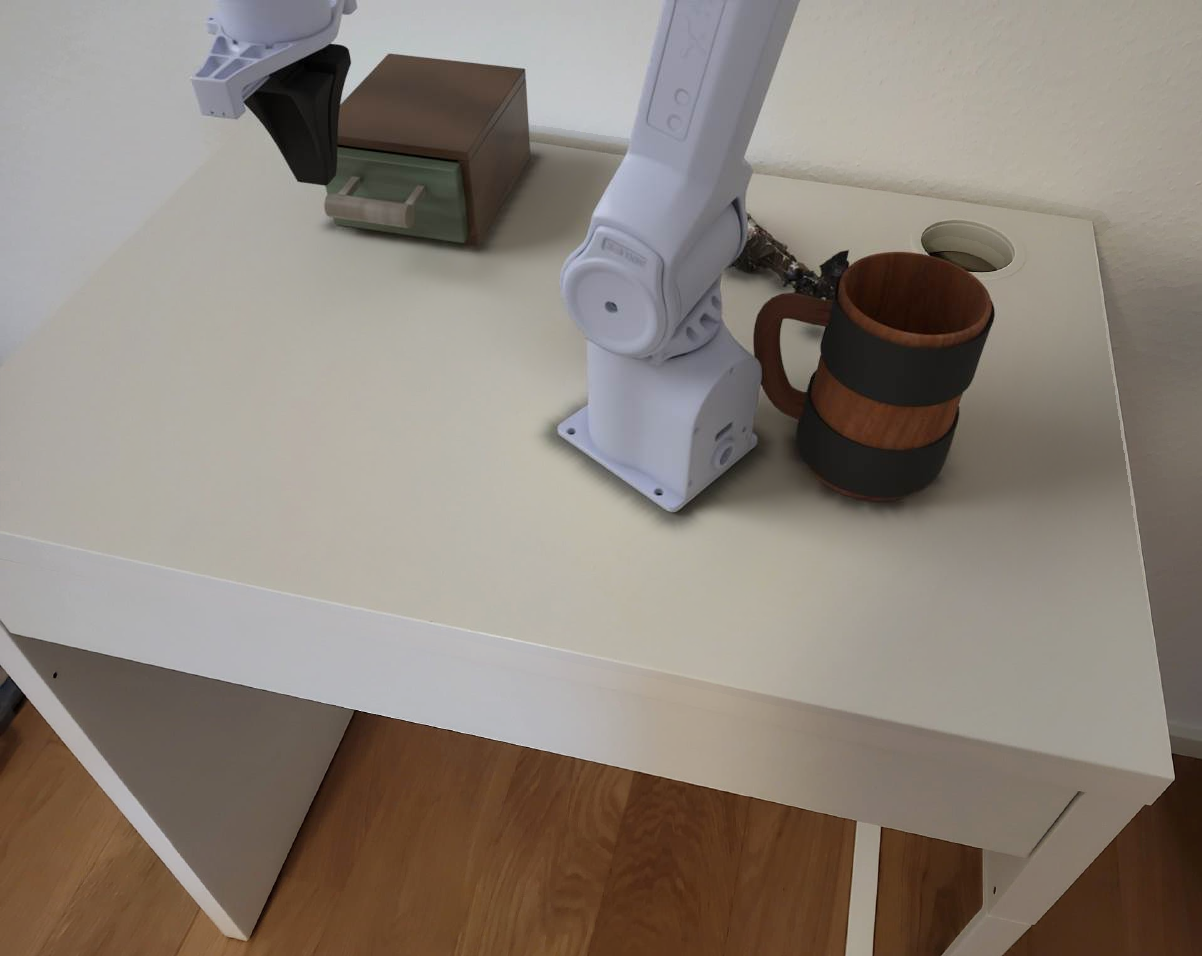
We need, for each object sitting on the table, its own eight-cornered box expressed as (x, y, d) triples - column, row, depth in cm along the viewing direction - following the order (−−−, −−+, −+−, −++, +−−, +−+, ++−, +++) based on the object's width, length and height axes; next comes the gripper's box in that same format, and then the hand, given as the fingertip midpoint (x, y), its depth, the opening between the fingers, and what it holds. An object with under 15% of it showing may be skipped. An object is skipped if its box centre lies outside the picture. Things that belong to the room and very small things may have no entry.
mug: (752, 381, 59) (778, 221, 51) (945, 421, 57) (1006, 260, 48) (723, 475, 54) (746, 314, 45) (935, 524, 51) (1002, 362, 43)
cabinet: (478, 246, 70) (467, 151, 64) (336, 225, 72) (313, 131, 66) (530, 157, 79) (525, 68, 73) (403, 141, 80) (388, 52, 75)
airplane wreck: (825, 355, 61) (841, 286, 57) (651, 228, 71) (655, 162, 67) (885, 323, 63) (905, 255, 59) (709, 205, 74) (716, 139, 69)
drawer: (443, 276, 66) (432, 203, 61) (308, 256, 67) (288, 183, 63) (515, 160, 77) (510, 91, 72) (397, 145, 78) (386, 76, 74)
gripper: (253, -119, 52) (309, 115, 62) (98, -26, 42) (194, 233, 52) (370, -110, 51) (408, 128, 61) (238, -11, 41) (309, 251, 51)
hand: (316, 178), depth 56 cm, fingers closed
